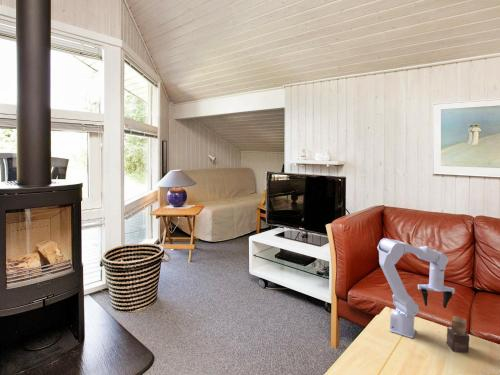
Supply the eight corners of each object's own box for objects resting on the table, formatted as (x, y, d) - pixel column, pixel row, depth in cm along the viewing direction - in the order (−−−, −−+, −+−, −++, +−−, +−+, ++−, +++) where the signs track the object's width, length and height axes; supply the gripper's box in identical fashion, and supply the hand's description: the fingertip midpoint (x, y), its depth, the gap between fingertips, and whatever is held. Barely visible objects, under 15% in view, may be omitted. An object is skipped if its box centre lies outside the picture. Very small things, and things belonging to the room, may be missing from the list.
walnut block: (451, 331, 129) (451, 320, 128) (452, 327, 132) (453, 315, 132) (464, 335, 126) (465, 323, 125) (465, 330, 129) (466, 319, 129)
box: (468, 353, 126) (469, 336, 125) (452, 351, 127) (453, 334, 127) (461, 344, 132) (463, 328, 131) (446, 342, 133) (447, 326, 133)
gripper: (420, 278, 141) (419, 307, 143) (457, 282, 137) (455, 312, 138) (417, 273, 148) (416, 300, 149) (452, 276, 144) (450, 305, 145)
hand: (434, 305), depth 144 cm, fingers open, 7 cm apart
